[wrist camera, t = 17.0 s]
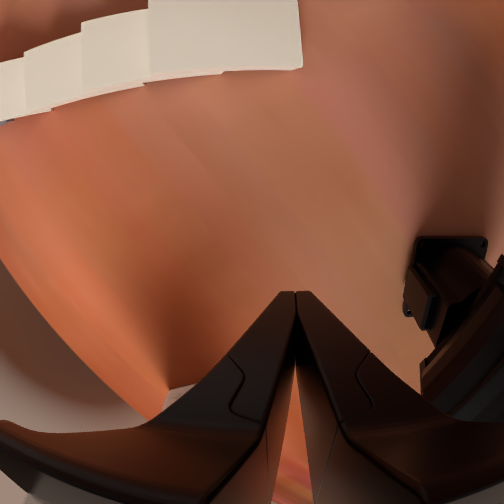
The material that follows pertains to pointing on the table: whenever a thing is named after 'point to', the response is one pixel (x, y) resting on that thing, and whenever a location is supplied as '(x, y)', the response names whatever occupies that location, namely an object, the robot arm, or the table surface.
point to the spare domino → (13, 90)
